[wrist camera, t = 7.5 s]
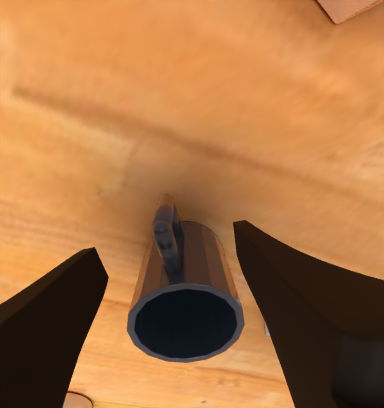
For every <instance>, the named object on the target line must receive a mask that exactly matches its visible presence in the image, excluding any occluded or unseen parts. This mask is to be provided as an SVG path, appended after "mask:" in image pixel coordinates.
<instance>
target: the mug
mask: <svg viewBox="0 0 384 408" xmlns="http://www.w3.org/2000/svg"><path fill="white" fill-rule="evenodd" d="M152 233H153V237H152V238H151V240H150V242H149V244H148V246H147V248H146V252H145V256H144V259H143V263H142V266H141V270H140V274H139V277H138V281H137V284H136V288H135V292H134V295H133V299H132V302H131V306H130V310H129V313H128V322H127V332H128V334H129V336H130V338H131V339H132V341H133V343H134V345H135V346H137V347H138V348H139V349H140V350H142V351H143V352H144V353H146V354H147V355H149V356H152V357H155V358H158V359H161V360H164V361H167V362H183V363H189V362H195V361H200V360H206V359H209V358H211V357H213V356H216V355H218V354H220V353H222V352H224V351H226V350H227V349H228V348H229V347H230V346H232V345H233V344H234V343H235V342H236V341H237V340H238V339H239V336H240V334H241V332H242V329H243V327H244V316H243V309H242V306H241V303H240V300H239V297H238V294H237V290H236V287H235V284H234V281H233V278H232V275H231V272H230V268H229V265H228V262H227V259H226V256H225V253H224V250H223V246H222V244H221V243H220V240H219V238H218V237H217V236H216V234H215V233H214V232H213V231H212V230H210V229H209V228H207V227H206V226H203V225H201V224H198V223H194V222H180V220H179V217H178V213H177V209H176V205H175V201H174V198H173V197H172V196H171V195H168V194H166V195H163V196H162V197H161V198H160V201H159V204H158V208H157V211H156V215H155V218H154V222H153V226H152Z"/></svg>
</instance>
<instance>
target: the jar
mask: <svg viewBox="0 0 384 408" xmlns="http://www.w3.org/2000/svg"><path fill="white" fill-rule="evenodd" d="M317 1H318V2H319V3H320V5H321V6H322V7H323V9H324V10H325V11H326V12H327V14H328V15H329V16H330V18H331V19H332V20H333V22H334V23H335V24H339V23H341V22H343V21H345V20H347V19H349V18H351V17H353V16H355V15H357V14H359V13H361V12H363V11H365V10H367V9H370V8H372V7H374V6H376V5H378V4H380V3H382V2H384V0H317Z"/></svg>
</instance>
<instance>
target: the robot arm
mask: <svg viewBox="0 0 384 408" xmlns="http://www.w3.org/2000/svg"><path fill="white" fill-rule="evenodd" d="M233 226H234V235H235V244H236V253H237V257H238V260H239V264H240V267H241V270H242V272H243V275H244V277H245V279H246V281H247V283H248V286H249V288H250V290H251V292H252V294H253V296H254V298H255V300H256V303H257V305H258V307H259V309H260V311H261V313H262V316H263V318H264V320H265V333H266V335H267V336H271V339H272V342H273V345H274V347H275V350H276V353H277V356H278V359H279V362H280V364H281V367H282V370H283V373H284V376H285V379H286V382H287V385H288V388H289V391H290V394H291V397H292V400H293V402H294V405H295V408H384V280H381V279H377V278H374V277H370V276H366V275H363V274H360V273H357V272H353V271H350V270H347V269H344V268H341V267H338V266H335V265H333V264H330V263H327V262H324V261H322V260H319V259H317V258H314V257H312V256H309V255H307V254H305V253H302V252H300V251H298V250H296V249H294V248H292V247H290V246H288V245H286V244H284V243H282V242H280V241H278V240H277V239H275V238H273V237H271V236H270V235H268V234H266V233H265V232H263V231H261V230H260V229H258V228H257V227H255V226H254V225H252V224H251V223H249V222H247V221H246V220H243V221H237V222H233ZM108 278H109V277H108V275H107V273H106V271H105V268H104V266H103V264H102V262H101V260H100V258H99V255H98V253H97V251H96V249H95V247H93V248H88V249H83V250H81V251H79V252H78V253H76V254H75V255H73V256H72V257H70V258H69V259H67V260H66V261H64V262H63V263H61V264H60V265H58V266H57V267H56V268H54V269H53V270H51V271H50V272H49V273H47V274H46V275H44V276H43V277H41V278H40V279H39V280H37V281H36V282H34V283H33V284H31V285H30V286H28V287H27V288H25V289H24V290H22V291H21V292H19V293H18V294H16V295H15V296H13V297H12V298H10V299H8V300H7V301H5V302H4V303H2V304H0V408H63V405H64V401H65V398H66V394H67V391H68V388H69V384H70V381H71V378H72V375H73V372H74V369H75V366H76V363H77V360H78V356H79V354H80V351H81V349H82V346H83V343H84V341H85V339H86V336H87V334H88V332H89V329H90V327H91V325H92V322H93V320H94V318H95V316H96V313H97V311H98V308H99V306H100V304H101V301H102V299H103V296H104V293H105V290H106V286H107V282H108Z"/></svg>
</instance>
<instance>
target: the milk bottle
mask: <svg viewBox="0 0 384 408" xmlns="http://www.w3.org/2000/svg"><path fill="white" fill-rule="evenodd" d="M63 408H92V403H91V402H90V401H89V400H88V399H87V398H85V397H83V396H81V395H77V394H73V393H67V394H66V398H65V401H64V405H63Z"/></svg>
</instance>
